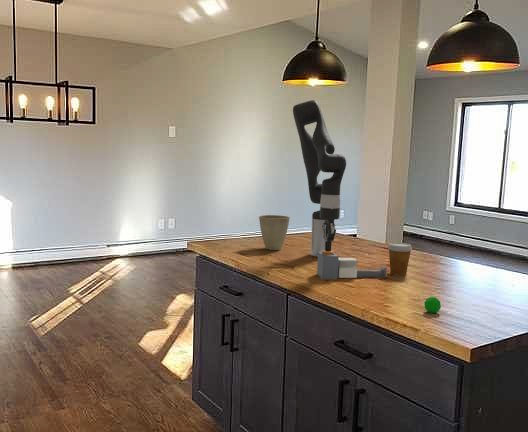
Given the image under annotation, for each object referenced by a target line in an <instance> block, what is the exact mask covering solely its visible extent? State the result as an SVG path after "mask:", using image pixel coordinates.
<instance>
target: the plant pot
mask: <svg viewBox="0 0 528 432" xmlns="http://www.w3.org/2000/svg"><path fill="white" fill-rule="evenodd" d="M290 219H291V218H290V216H287V215H280V214H279V215H275V214H265V215H264V214H263V215H259V216H258V220H259V227H260V232H261V237H262V241H263V244H264V248H265V249H266V250H268V249H269V251H280V250H282V247H283V245H284V243H285V240H286V236H287V232H288V229H289V223H290Z"/></svg>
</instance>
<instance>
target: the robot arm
mask: <svg viewBox="0 0 528 432" xmlns="http://www.w3.org/2000/svg"><path fill="white" fill-rule="evenodd" d="M292 113H293V114H292V115H293V119H294V123H295V126H296V129H297V134H298V137H299V142H300V148H301V154H302V160H303V163H304V167H305V171H306V177H307V184H308V185H307V187H308V194H309V199H310V201H311V202H312V204H318V205H319V206H320V207H319V210H316V211H313V212H312V214H311V237H310V238H311V239H310V240H311V241H310V256H311V257H316V258H318V252H322V251H323V250H325V251H331V250H332V243H333V242H334V240H335V236H336V233H337V229H336V224H335V220H339V219H340V212H341V211H340V210H341V184H342V180H343V177H344V174H345V171H346V168H347V159H346V158H345V155H343V154H339V153H335V151H336V150H335V149H336V148H335V145H334V142H333V141H332V139H331V137H330V135H329V132H328V130H327V126H326V121H325V119H324V116H323V113H322V110H321V107H320V105H319V103H318V101H316V100H314V99H311V100H307V101H305V102H300V103H297V104H295V105H294V106H293V108H292ZM314 123H316V124H315V128H314V131H313V134H312V135H311V134H310V133H309V132H308V131H307V129H306V128H305V126H307V125H311V124H314ZM320 172H323V173H328V174H329V173H332V176H330V177H329V178H325V179H322V182H321V183H318V177H319V174H320Z"/></svg>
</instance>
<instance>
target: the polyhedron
mask: <svg viewBox="0 0 528 432" xmlns="http://www.w3.org/2000/svg"><path fill="white" fill-rule="evenodd" d="M423 304H424V309H425V310H426V312H428V313H430V314H436V313H439V311H440V310H441V308H442V307H441V305H442V304H441V301H440V299H439V298H437V297H435V296H430V297H428V298H426V299H425V300H424V303H423Z"/></svg>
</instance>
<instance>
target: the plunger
mask: <svg viewBox="0 0 528 432" xmlns="http://www.w3.org/2000/svg"><path fill="white" fill-rule="evenodd" d="M322 252H323V253H324V255H332V254H333V253H335V250H332V249H331V251H325V250H323V251H322Z"/></svg>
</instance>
